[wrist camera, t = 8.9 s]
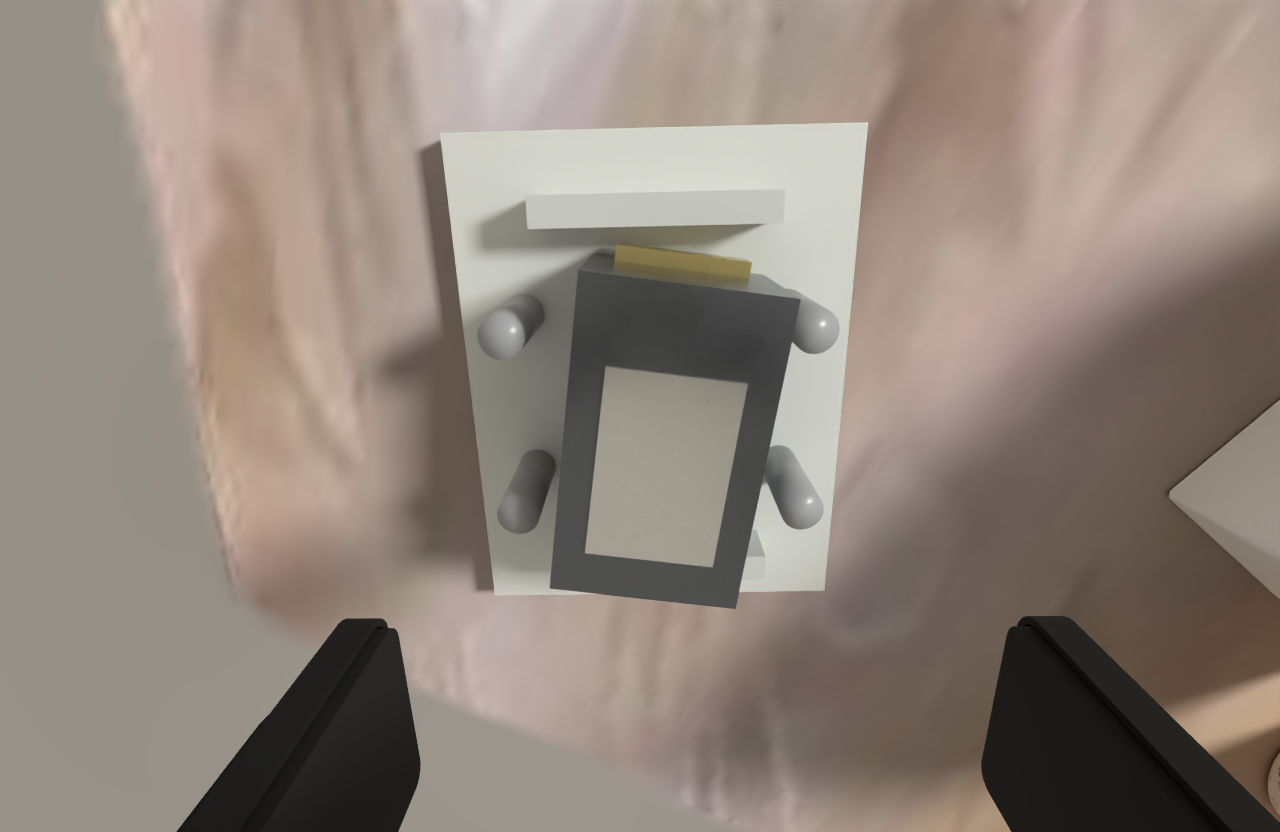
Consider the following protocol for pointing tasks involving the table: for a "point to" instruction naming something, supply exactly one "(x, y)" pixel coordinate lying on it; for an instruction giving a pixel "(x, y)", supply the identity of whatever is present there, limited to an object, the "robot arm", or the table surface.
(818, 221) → the peg fixture base
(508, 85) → the table surface
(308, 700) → the robot arm
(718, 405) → the drive
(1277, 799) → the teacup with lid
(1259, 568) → the gable box
